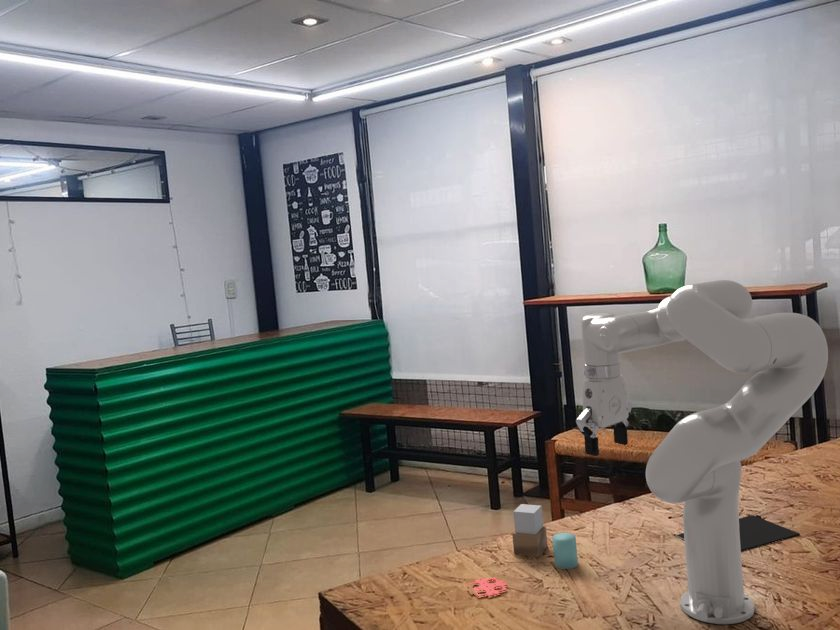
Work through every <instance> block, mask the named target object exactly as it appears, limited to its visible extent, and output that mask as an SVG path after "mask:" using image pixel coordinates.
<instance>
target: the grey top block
mask: <svg viewBox="0 0 840 630" xmlns="http://www.w3.org/2000/svg"><path fill="white" fill-rule="evenodd" d="M542 507H543V506H542V505H537V504H526V503H525V504H524V503H521V504H519V505H518V506H517V507H516V508H515V509H514V510H513V520H514V521H513V523H514V531H515V533H525V534H534V535H536V534H537V533H538V532H539V531H540V530H541V529H542V528H543V526H544V519H543V518H544V517H543V508H542Z"/></svg>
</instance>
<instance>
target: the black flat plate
mask: <svg viewBox="0 0 840 630" xmlns="http://www.w3.org/2000/svg"><path fill="white" fill-rule="evenodd" d="M739 533H740V547H741V551H742V552H744V550H745V551H747V549H749V550H751V549H756V548H759V547H763V546H765V544H767V545H770V544H773V543H772V542H774V543H776V542H775V541H777V542H779V541H778V540H781V541H783V540H782V539H784V540H787V538H788V539H791V538H795V537H797V536H798V537H799V536H800V535H801V533H800V532H797V531H794V530H792V529H789V528H787V527H784V526H782V525H779V524H776V523H775V522H772V521H769V520H766V519H764V518H762V516H761V515H759V514H755V515H754V514H748V515H747V516H744V517H739ZM673 536H675V538H678V537H679V538H678V539H680V538H681V539H680V540H682V539H683V540H682V541H684V532H683V533H677V534H676V533H674V534H673ZM769 543H770V544H769ZM762 545H763V546H762ZM758 546H759V547H758Z"/></svg>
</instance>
